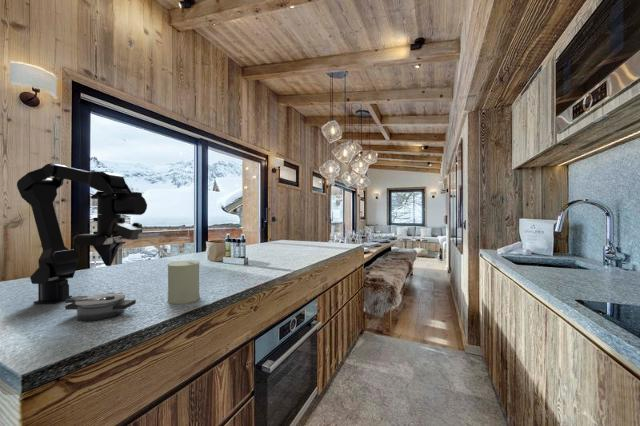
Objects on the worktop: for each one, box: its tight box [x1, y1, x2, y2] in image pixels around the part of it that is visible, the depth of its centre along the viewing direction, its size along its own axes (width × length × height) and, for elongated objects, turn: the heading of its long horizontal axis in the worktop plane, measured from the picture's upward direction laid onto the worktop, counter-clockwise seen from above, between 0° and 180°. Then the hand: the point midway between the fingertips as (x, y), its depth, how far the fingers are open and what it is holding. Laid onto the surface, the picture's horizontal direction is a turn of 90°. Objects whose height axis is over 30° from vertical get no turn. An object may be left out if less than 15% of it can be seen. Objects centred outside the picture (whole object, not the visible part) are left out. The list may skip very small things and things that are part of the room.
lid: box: [64, 292, 126, 306], centre depth 75 cm, size 13×11×1 cm
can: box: [167, 260, 201, 305], centre depth 89 cm, size 9×9×12 cm
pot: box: [65, 298, 137, 323], centre depth 76 cm, size 15×11×4 cm
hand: (108, 265), depth 85 cm, fingers closed
